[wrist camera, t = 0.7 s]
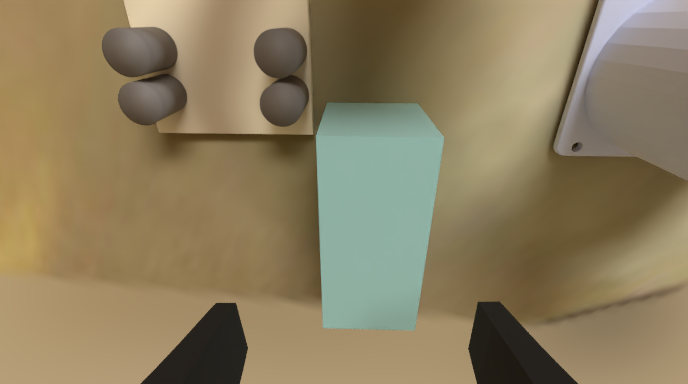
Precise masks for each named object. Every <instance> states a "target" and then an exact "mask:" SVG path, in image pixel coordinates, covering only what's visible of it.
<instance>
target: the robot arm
mask: <svg viewBox="0 0 688 384" xmlns="http://www.w3.org/2000/svg"><path fill="white" fill-rule="evenodd" d="M577 142H578V145H577V146H576V148H574V149H572V146H573V144H575V143H577ZM553 149H554V151H555V152H556V153H557V154H559V155H562V156H611V157H638V158H640V159H642V160H644V161H647V162H649V163H651V164H653V165H655V166H657V167H659V168H661V169H663V170H665V171H667V172H669V173H672V174H674V175H676V176H678V177H680V178H682V179H684V180H686V181H688V0H599V2H598V5H597V8H596V12H595V15H594V18H593V21H592V24H591V27H590V31H589V34H588V37H587V40H586V43H585V46H584V50H583V53H582V56H581V59H580V62H579V65H578V69H577V72H576V75H575V78H574V81H573V84H572V88H571V91H570V94H569V97H568V100H567V103H566V107H565V110H564V113H563V116H562V119H561V123H560V126H559V129H558V132H557V135H556V138H555V142H554V145H553ZM468 349H469V353H470V357H471V361H472V365H473V369H474V373H475V377H476V381H477V384H578V383H577V382H576V381H575V380H574V379H573V378H572V377H571V376H570V375H569V374H568V373H567V372H566V371H565V370H564V369H563V368H562V367H561V366H560V365H559V364H558V363H557V362H556V361H555V360H554V359H553V358H552V357H551V356H550V355H549V354H548V353H547V352H546V351H545V350H544V349H543V348H542V347H541V346H540V345H539V344H538V342H537V341H536V340H535V339H534V338H533V337H532V336H531V335H530V334H529V333H528V332H527V331H526V330H525V329H524V328H523V326H522V325H521V324H520V323H519V322H518V321H517V320H516V319H515V318H514V317H513V316H512V314H511V313H510V312H509V311H508V310H507V309H506V308H505V307H504V306H503V305H502V304H501V303H500V302H478V305H477V310H476V314H475V319H474V324H473V329H472V334H471V339H470V344H469V348H468ZM247 350H248V347H247V343H246V339H245V336H244V332H243V328H242V324H241V320H240V317H239V313H238V309H237V305H236V303H216V304H215V305H214V306H213V307H212V308H211V309H210V310H209V311H208V312H207V313H206V314H205V316H204V317H203V318H202V319H201V320H200V321H199V322H198V323H197V324H196V326H195V327H194V328H193V329H192V330H191V331H190V332H189V333H188V334H187V335H186V337H185V338H184V339H183V340H182V341H181V342H180V343H179V344H178V345H177V346H176V347H175V349H174V350H173V351H172V352H171V353H170V354H169V355H168V356H167V357H166V358H165V359H164V360H163V361H162V362H161V363H160V364H159V366H158V367H157V368H156V369H155V370H154V371H153V372H152V373H151V374H150V375H149V376H148V377H147V378H146V379H145V380H144V381H143V382H142V383H141V384H240V380H241V376H242V372H243V367H244V363H245V359H246V354H247Z"/></svg>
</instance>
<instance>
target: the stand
mask: <svg viewBox="0 0 688 384" xmlns="http://www.w3.org/2000/svg"><path fill="white" fill-rule="evenodd" d="M124 4H125V8H126V11H127V15H128V19H129V23H130V26H131V28H114V29H111V30H109V31H108V32H107V33H106V34H105V35H104V37H103V40H102V50H103V54H104V57H105V59H106V60H107V62H108V63H109V65H110V66H111V67H112V68H113V69H114V70H115V71H117V72H118V73H120V74H122V75H124V76H127V77H138V76H142V75H144V79H142V80H138V81H134V82H131V83H127V84H125V85H124V86H123V87H122V88H121V89H120V91H119V94H118V102H119V105H120V108H121V110H122V111H123V113H124V114H125V115H126V116H127V117H128V118H129V119H130V120H132V121H133V122H135V123H137V124H140V125H152V124H154V123H156V124H157V128H158V131H159V133H215V134H301V135H313V133H314V112H313V87H312V62H311V37H310V11H309V0H124Z"/></svg>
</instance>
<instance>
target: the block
mask: <svg viewBox="0 0 688 384" xmlns="http://www.w3.org/2000/svg"><path fill="white" fill-rule="evenodd" d="M443 143H444V137H443V135H442V134H441V133H440V132H439V130H438V129H437V128H436V126H435V125H434V124H433V122H432V121H431V120H430V119H429V117H428V116H427V115H426V113H425V112H424V111H423V109H422V108H421V107H420V106H419V104H417V103H327V104H326V107H325V110H324V113H323V116H322V119H321V122H320V125H319V128H318V131H317V134H316V152H317V179H318V206H319V234H320V261H321V288H322V316H323V328H338V329H376V330H415V326H416V320H417V313H418V307H419V300H420V294H421V287H422V281H423V274H424V268H425V261H426V254H427V248H428V241H429V235H430V228H431V222H432V215H433V209H434V202H435V195H436V189H437V182H438V176H439V169H440V163H441V156H442V150H443Z"/></svg>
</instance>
